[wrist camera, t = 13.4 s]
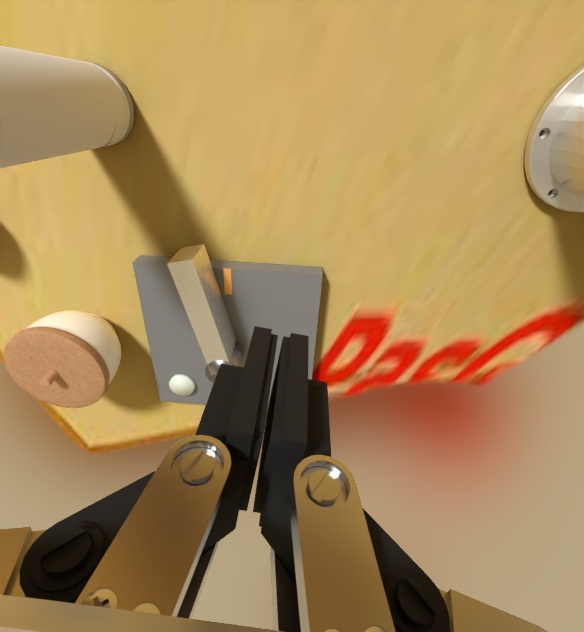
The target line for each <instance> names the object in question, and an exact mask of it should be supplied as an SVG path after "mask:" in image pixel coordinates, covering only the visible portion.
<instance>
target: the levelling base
mask: <svg viewBox="0 0 584 632" xmlns="http://www.w3.org/2000/svg"><path fill="white" fill-rule="evenodd" d="M172 258H173V257H160V256H144V255H140V256H139V257H138V258H137V259H136V260H135V261H133V267H134V272H135V277H136V282H137V287H138V292H139V297H140V302H141V307H142V312H143V317H144V323H145V328H146V333H147V338H148V343H149V348H150V353H151V358H152V363H153V368H154V373H155V378H156V383H157V388H158V393H159V398H160V401H168V402H181V403H195V404H207V401H208V398H209V395H210V392H211V390H212V387H213V384H214V383H212V382H211V381H210V380H209V379H208V378H207V376H206V374H205V369H206V366H207V363H206V360H205V358H204V355H203V353H202V350H201V348H200V345H199V343H198V340H197V338H196V335H195V333H194V330H193V328H192V325H191V323H190V320H189V318H188V315H187V313H186V310H185V308H184V305H183V303H182V300H181V298H180V295H179V293H178V290H177V287H176V285H175V282H174V280H173V277H172V275H171V272H170V270H169V267H168V265H167V263H168V262H169V261H170V260H171V259H172ZM210 263H211V266H212V269H213V272H214V275H215V278H216V281H217V284H218V287H219V290H220V293H221V296H222V299H223V302H224V305H225V308H226V311H227V314H228V317H229V320H230V323H231V326H232V329H233V332H234V335H235V338H236V341H238V342H239V343H241V344H242V346H243V347H244V350H245V354H244V358H243V362H242V365H241V367H244V366H245V362H246V358H247V354H248V350H249V346H250V342H251V338H252V334H253V331H254V327H255V326H258V327H263V328H269V329H272V332H271V334H275V335H278V339H277V346H276V353H275V360H274V367H273V373H272V380H271V387H270V394H269V399H270V395H271V390H272V386H273V381H274V376H275V372H276V367H277V363H278V358H279V354H280V349H281V344H282V340H283V336H286V337H290V334H291V333H295V334H301V335H306V336H309V350H308V379H311V380H312V373H313V363H314V354H315V344H316V335H317V325H318V316H319V306H320V297H321V287H322V278H323V270H322V267H311V266H296V265H281V264H265V263H250V262H235V261H220V260H210ZM268 405H269V401H268ZM267 409H268V408H267Z"/></svg>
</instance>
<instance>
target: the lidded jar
mask: <svg viewBox="0 0 584 632" xmlns="http://www.w3.org/2000/svg"><path fill="white" fill-rule="evenodd" d="M120 361H121V344H120V341H119V338H118V336H117V334H116V331H115V329H114V328H113V326H112V325H111V324H110V323H109V322H108V321H107V320H105V319H104V318H102V317H101V316H99V315H96V314H93V313H88V312H83V311H73V310H69V311H61V312H57V313H53V314H50V315H48V316H45V317H43V318H41V319H39V320H38V321H36V322H34V323H33V324H31V325H30V326H28V327H27V328H26V329H24V330H22V331H20V332H19V333H17V334H16V335H15V336H13V337H12V338H11V339H10V340H9V341H8V342H7V344H6V346H5V349H4V362H5V366H6V368H7V370H8V372H9V374H10V375H11V377H12V378H13V380H15V382H16V383H17V384H18V385H19V386H20V387H21V388H23V389H24V390H25V391H26V392H28V393H29V394H31V395H32V396H34V397H36V398H37V399H40V400H42V401H44V402H46V403H49V404H52V405H56V406H60V407H66V408H80V407H85V406H88V405H91V404H93V403H95V402H97V401H98V400H99V399H100V398H101V397H102V396H103V394H104V393H105V391H106V390H107V388H108V385H109V384H110V382H111V381H112V379H113V378H114V376H115V374H116V372H117V370H118V367H119V364H120Z"/></svg>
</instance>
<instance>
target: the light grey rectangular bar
mask: <svg viewBox="0 0 584 632" xmlns="http://www.w3.org/2000/svg"><path fill="white" fill-rule="evenodd" d="M167 265H168V267H169V270H170V272H171V275H172V277H173V280H174V282H175V285H176V287H177V290H178V293H179V295H180V298H181V300H182V303H183V305H184V308H185V310H186V313H187V315H188V318H189V320H190V323H191V325H192V328H193V330H194V333H195V335H196V338H197V340H198V343H199V345H200V348H201V350H202V353H203V355H204V358H205V360H206V363H207V366H206V369H205V374H206V376H207V378H208V379H209V380H210V381H211V382H212V383H214V381H215V378H216V375H217V372H218V370H219V367H220V365H221V363H222V364H228V365H233V366H239V367H241V365H242V362H243V358H244V354H245V350H244V347H243V346H242V344H241V343H239V342H238V341H236V338H235V335H234V332H233V329H232V326H231V323H230V320H229V317H228V314H227V311H226V308H225V305H224V302H223V299H222V296H221V293H220V290H219V287H218V284H217V281H216V278H215V275H214V272H213V269H212V266H211V263H210V260H209V257H208V254H207V251H206V248H205V245H204V244H201V245H195V246H189V247H184V248H181V249H180V250H179V251H178V252H177V253H176V254H175V255H174V256H173V258H172V259H171V260H170V261H169V262H168V263H167Z"/></svg>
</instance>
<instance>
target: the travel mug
mask: <svg viewBox="0 0 584 632" xmlns="http://www.w3.org/2000/svg"><path fill="white" fill-rule="evenodd" d="M133 124H134V106H133V103H132V99H131V97H130V94H129V92H128V90H127V88H126V87H125V85H124V84H123V82H122V81H121V80H120V79H119V78H118V76H116V75H115V74H114V73H113V72H112V71H110V70H109V69H107V68H106V67H104V66H101V65H99V64H95V63H90V62H85V61H79V60H74V59H69V58H63V57H58V56H52V55H47V54H42V53H36V52H31V51H26V50H20V49H15V48H10V47H4V46H0V168H3V167H8V166H13V165H18V164H23V163H27V162H32V161H37V160H42V159H47V158H52V157H56V156H61V155H66V154H71V153H76V152H81V151H85V150H90V149H95V148H100V147H105V146H110V145H114V144H117V143H120V142H122V141H123V140H125V139H126V137H127V136H128V135H129V134H130V132H131V130H132V127H133Z"/></svg>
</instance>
